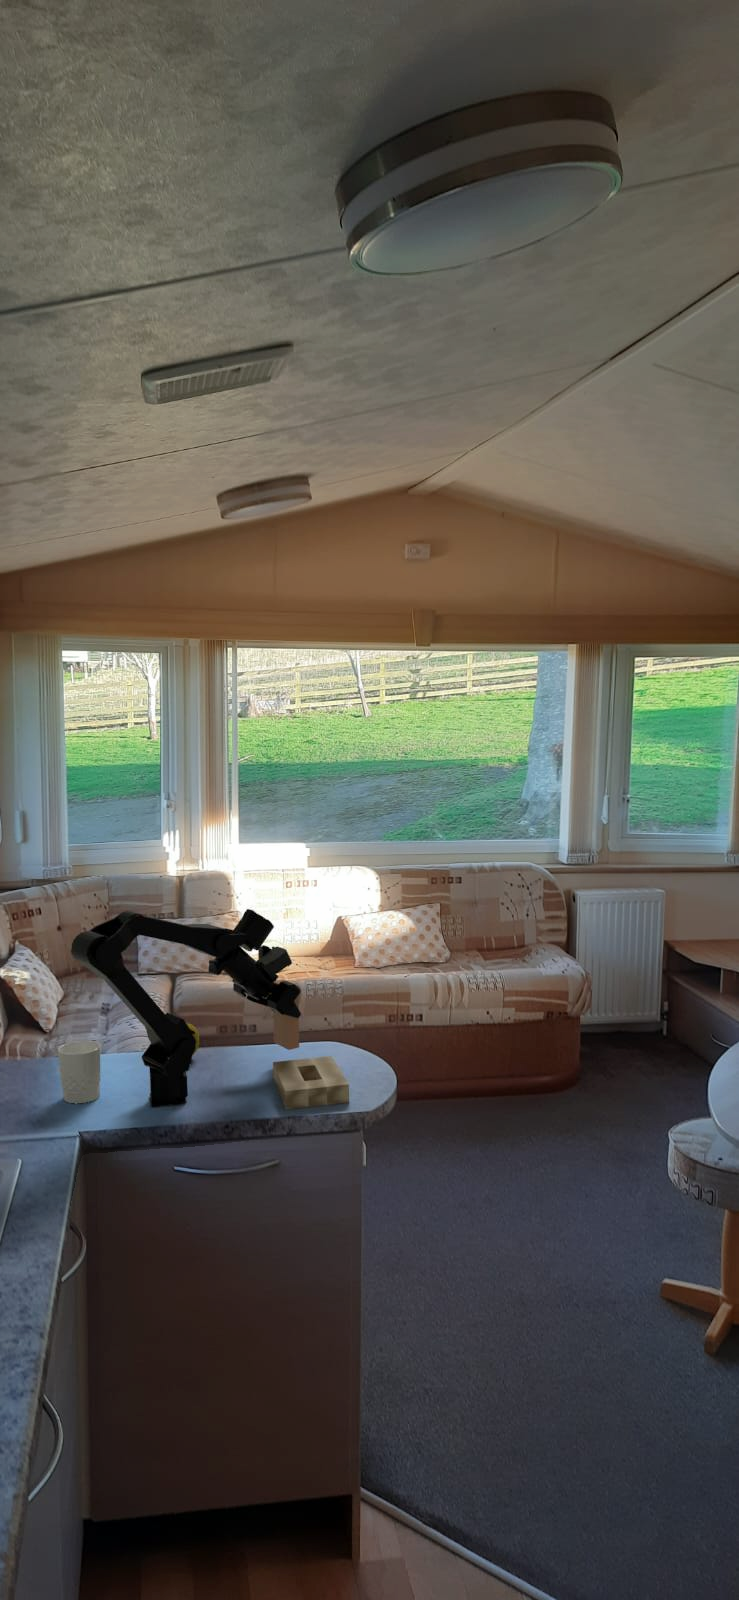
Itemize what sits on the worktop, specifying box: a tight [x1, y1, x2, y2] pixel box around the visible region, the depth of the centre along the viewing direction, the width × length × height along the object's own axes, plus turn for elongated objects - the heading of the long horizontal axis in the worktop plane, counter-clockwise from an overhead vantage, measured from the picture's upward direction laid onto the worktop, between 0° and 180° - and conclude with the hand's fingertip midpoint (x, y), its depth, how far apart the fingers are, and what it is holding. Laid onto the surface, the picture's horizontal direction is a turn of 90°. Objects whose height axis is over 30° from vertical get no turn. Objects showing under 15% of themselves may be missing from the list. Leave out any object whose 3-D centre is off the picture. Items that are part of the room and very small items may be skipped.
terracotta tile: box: [272, 979, 300, 1051], centre depth 213 cm, size 2×6×13 cm, turn 36°
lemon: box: [185, 1021, 200, 1055], centre depth 219 cm, size 6×6×8 cm
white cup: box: [57, 1040, 102, 1104], centre depth 198 cm, size 8×8×10 cm
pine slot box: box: [272, 1055, 350, 1110], centre depth 200 cm, size 12×16×4 cm
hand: (291, 1012), depth 214 cm, fingers closed on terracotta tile, 6 cm apart
